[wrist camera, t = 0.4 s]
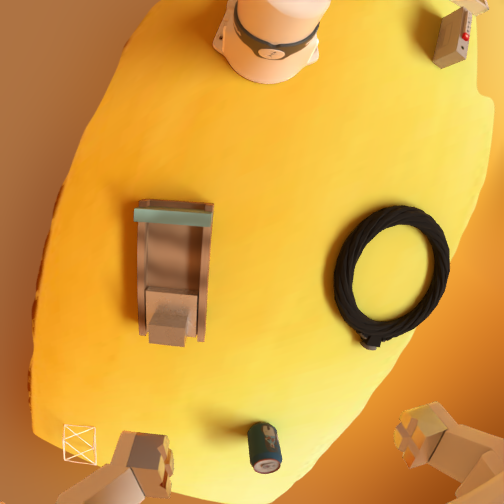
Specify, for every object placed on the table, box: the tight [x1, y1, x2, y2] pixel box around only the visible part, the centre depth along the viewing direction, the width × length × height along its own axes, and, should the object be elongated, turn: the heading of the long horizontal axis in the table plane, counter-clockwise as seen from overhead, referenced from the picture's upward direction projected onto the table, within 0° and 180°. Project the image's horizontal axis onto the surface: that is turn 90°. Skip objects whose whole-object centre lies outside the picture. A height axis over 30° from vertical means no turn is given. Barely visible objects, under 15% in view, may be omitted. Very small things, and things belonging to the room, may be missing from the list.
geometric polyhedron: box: [62, 424, 97, 465], centre depth 58 cm, size 12×11×9 cm
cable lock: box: [334, 206, 450, 350], centre depth 56 cm, size 28×4×30 cm
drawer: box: [134, 199, 214, 342], centre depth 51 cm, size 24×12×6 cm, turn 174°
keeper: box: [146, 286, 199, 347], centre depth 51 cm, size 8×9×7 cm
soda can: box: [248, 423, 282, 474], centre depth 59 cm, size 7×7×12 cm
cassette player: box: [432, 6, 472, 69], centre depth 41 cm, size 16×3×10 cm, turn 157°
